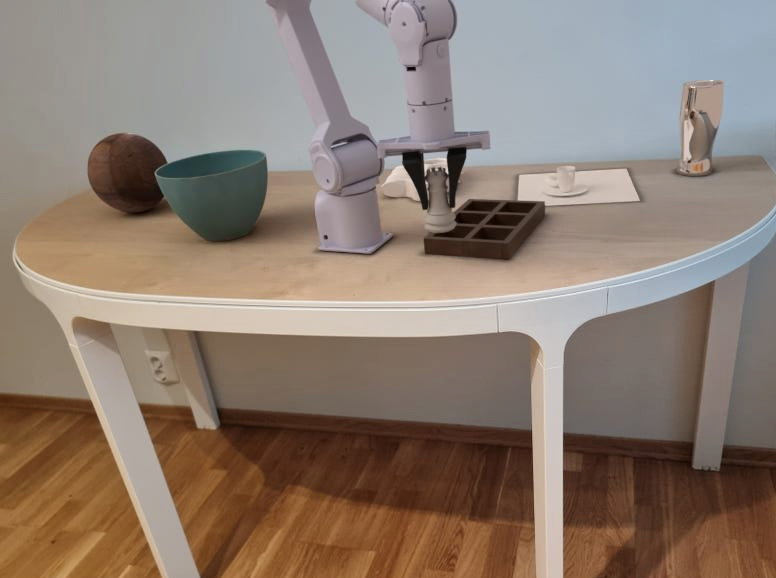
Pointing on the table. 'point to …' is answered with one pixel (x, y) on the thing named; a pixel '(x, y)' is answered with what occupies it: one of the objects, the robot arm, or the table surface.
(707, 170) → the beer glass
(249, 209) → the plant pot
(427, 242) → the rack
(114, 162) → the wooden sphere
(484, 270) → the table surface
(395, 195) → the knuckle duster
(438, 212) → the rook chess piece
